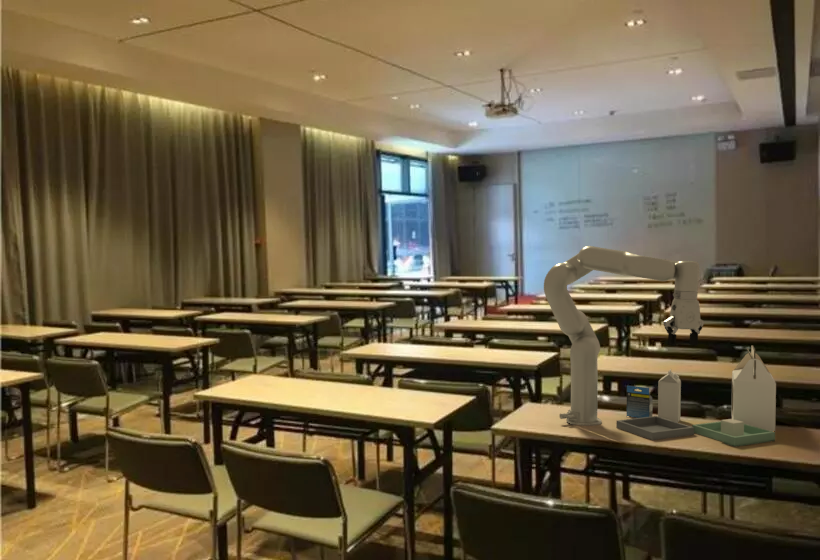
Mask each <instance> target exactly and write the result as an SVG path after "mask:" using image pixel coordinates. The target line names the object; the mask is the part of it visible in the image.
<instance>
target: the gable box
mask: <svg viewBox="0 0 820 560" xmlns="http://www.w3.org/2000/svg"><path fill="white" fill-rule="evenodd" d="M746 349H747V353H746V354H745V355H744V356H743V357H742V359H741V360H740V361H739V363H738V364H737V365H736V366H735V368H734V369H733V370H732V372H731V419H734V420H738V421H742V422H744V424H747V425H751V426H754V427H758V428H762V429H766V430H769V431H775V432H776V412H777V411H776V408H777V407H776V405H777V404H776V403H777V398H776V397H777V396H776V395H777V382H776V380H775V378H774V377H773V375H772V373H771V372H770V370H769V369H768V367H767V366H766V364H765V363H764V362H763V360H762V358H761V357H760V356H759V354H758V353H756V348H755V347H754V345H751V350H749V348H748V347H746Z"/></svg>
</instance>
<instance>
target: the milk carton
mask: <svg viewBox="0 0 820 560" xmlns="http://www.w3.org/2000/svg"><path fill="white" fill-rule="evenodd" d="M657 383H658V386H657V394H658V395H657V401H658V402H657V416H658V417H661V418H665V419H668V420H671V421H675V422H679V423H680V421H681V410H682V409H681V407H682V406H681V399H682V395H681V394H682V393H681V392H682V391H681V390H682V388H681V387H682V380H681V379H680V376H679V375H678V374H677V373H673V372H672V368H670V369H669V370H668V373H667V374H665V375H664V376H662V377H661V378H660V379H659V380H658V382H657Z"/></svg>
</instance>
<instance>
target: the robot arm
mask: <svg viewBox="0 0 820 560" xmlns="http://www.w3.org/2000/svg"><path fill="white" fill-rule="evenodd" d="M592 271H598V272H604V273H609V274H615V275H620V276H627V277H629V276H630V277H635V278H641V279H642V278H643V279H648V280H654V281H658V282H667V281H674V290H673V291H674V292H673V293H672V296H673V299H672V303H671V305H670V311H669V317H668V318H667V319H665V320H664V321H663V323H662V324H663V326H664V329H665V331H666V333H667V334H668V336H667V337H668V338H667V345H668V346H672V347H675V346H677V334H676V333H677V331H678V330H689V331H690V333H689V345H691V346H698V343H699V342H698V340H699V334H700V333H701V331H702V329H703V326H704V325H705V321H704V320H703V319H701V307H700V301H699V300H698V292H699V278H700V277H699V276H700V264H699V262H698V261H691V260H679V261H678V260H670V259H666V258H665V259H663V258H657V257H650V256H645V255H639V254H635V253H632V252H628V251H626V250H625V251H624V250H618V249H612V248H606V247H599V246H593V245H588V246H584V247H582V248H581V249H580V250H579V252H578V253H576V254H575V255H574V256H571V257H570V258H569V259H567V260H566V261H564V262H559V263H557V264H554V265H553V266H552V267H551V268H550V269H549V271H548V272H547V274H546V276H545V277H544V280H543V292H544V296H545V298H546V301H547V303H548V304H549V307H550V310H551V312H552V314H553V316H554V318H555V320H556V322H557V324H558V326H559V329H560V331H561V332H562V333H563V334H564V335H566V336H568V338H569V339H568V340H570V342H571V345H570V346H571V347H570V350H569V351H570V352H569V356H570V357H569V359H570V360H569V361H570V409H567V412H564V413H563V412H562V413H559V419H561V420H565V419H566V420H565V421H566V423H567V424H569V423H570V425H573V426H583V427H584V426H588V427H590V426H591V427H592V426H599V425H601V424H602V422H603V421H602V419H601V418H598V395H599V394H598V387H599V386H598V385H599V384H598V383H599V382H598V379H599V378H598V373H599V372H598V356H599V354H600V351H601V345H600V341H599V339H598V337H597V335H596V332H595V330H594V329H593V327H592V325H591V323H590V320H589V319H588V317H587V315H586V314H585V313H584V312H583V311H581V310H579V309H578V308H577V306H576V304H575V302H574V299H573V298H572V296H571V294H570V293H569V290H568V286H569V285H571V284H573V283H575V282H577V281H578V280H580V279H582V278H583V277H585V276H586V275H588V274H589V273H591V272H592Z"/></svg>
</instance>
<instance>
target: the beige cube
mask: <svg viewBox="0 0 820 560" xmlns="http://www.w3.org/2000/svg"><path fill="white" fill-rule="evenodd" d="M720 421H721V433H724V434H728V435H731V436H734V437H735V436H742V435H744V422H742V421H738V420H734V419H732V418H728V419H721V420H720Z"/></svg>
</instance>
